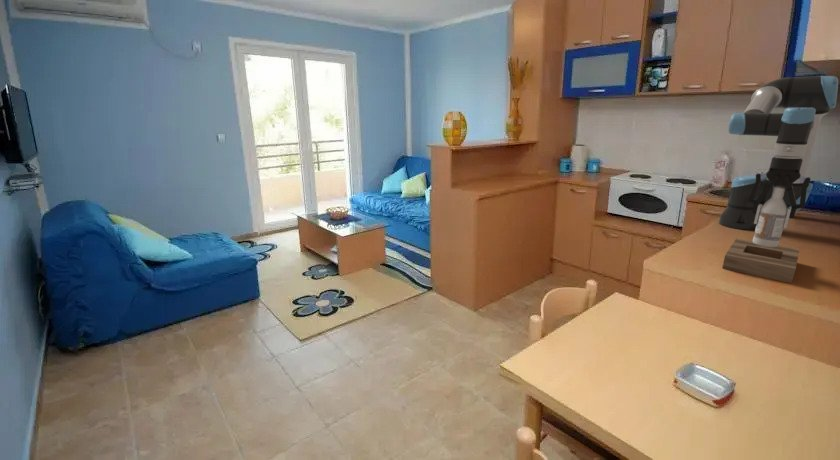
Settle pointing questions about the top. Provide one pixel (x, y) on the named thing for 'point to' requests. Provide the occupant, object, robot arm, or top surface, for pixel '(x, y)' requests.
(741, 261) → the walnut holder
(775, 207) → the bath foam
